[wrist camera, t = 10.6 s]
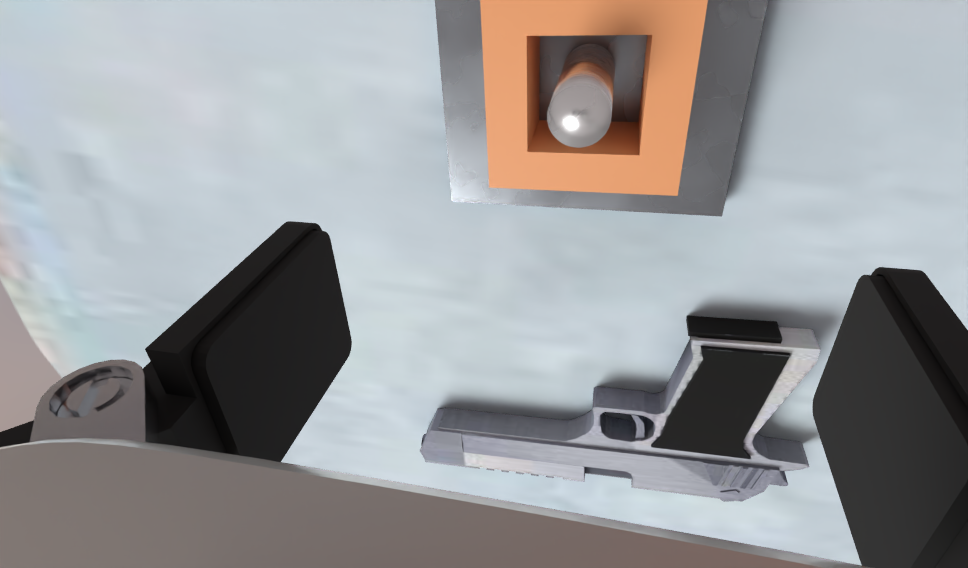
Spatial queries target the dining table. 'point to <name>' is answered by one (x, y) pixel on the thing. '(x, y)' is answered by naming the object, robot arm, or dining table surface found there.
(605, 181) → the orange square ring block
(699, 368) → the handgun
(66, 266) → the dining table surface
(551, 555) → the robot arm
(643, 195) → the plate
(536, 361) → the dining table surface
